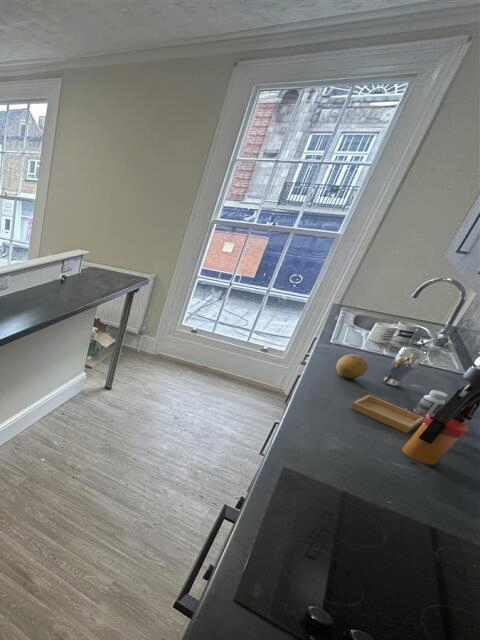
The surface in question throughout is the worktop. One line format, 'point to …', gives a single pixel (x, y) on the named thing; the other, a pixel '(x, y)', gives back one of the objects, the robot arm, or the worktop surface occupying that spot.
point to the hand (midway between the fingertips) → (434, 437)
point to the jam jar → (428, 447)
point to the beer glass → (403, 365)
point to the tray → (387, 413)
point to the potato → (351, 366)
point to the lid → (450, 426)
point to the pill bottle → (431, 403)
